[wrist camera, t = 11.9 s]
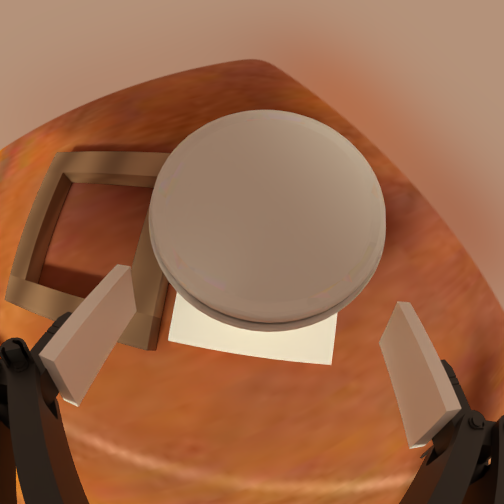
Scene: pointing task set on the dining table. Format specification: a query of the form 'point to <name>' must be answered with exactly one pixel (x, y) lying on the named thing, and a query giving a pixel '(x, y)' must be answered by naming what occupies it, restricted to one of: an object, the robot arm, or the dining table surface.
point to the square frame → (44, 220)
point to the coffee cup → (267, 220)
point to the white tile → (253, 337)
